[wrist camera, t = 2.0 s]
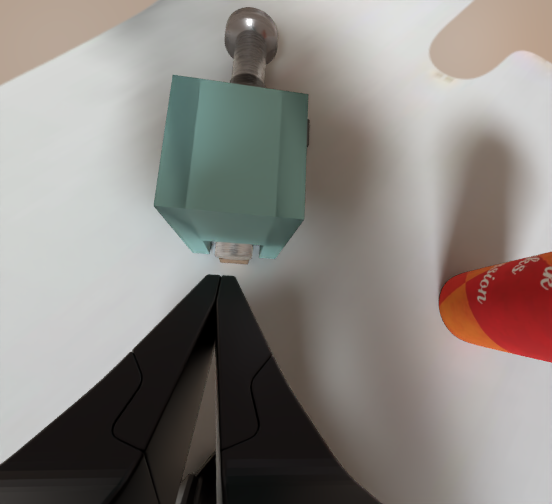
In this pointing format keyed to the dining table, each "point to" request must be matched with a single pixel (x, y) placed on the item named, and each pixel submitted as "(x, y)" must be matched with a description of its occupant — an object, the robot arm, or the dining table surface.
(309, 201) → the dining table surface
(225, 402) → the robot arm
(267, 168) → the teal notched block
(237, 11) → the pipe rig
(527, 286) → the paper cup
